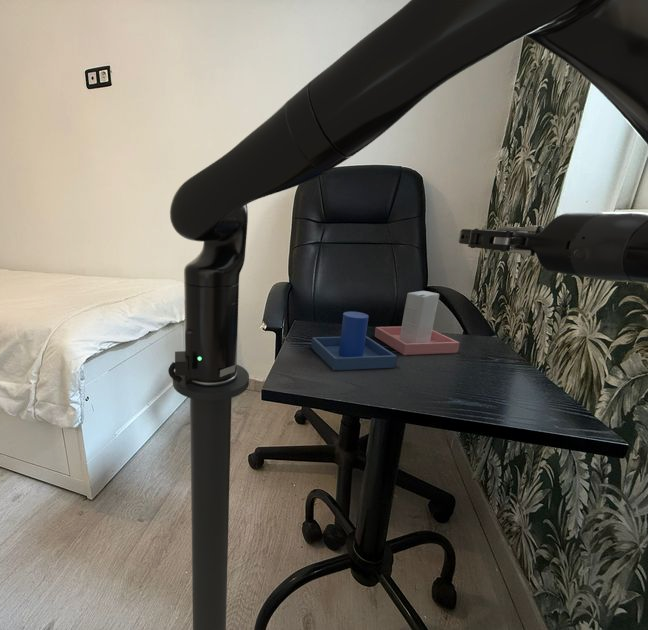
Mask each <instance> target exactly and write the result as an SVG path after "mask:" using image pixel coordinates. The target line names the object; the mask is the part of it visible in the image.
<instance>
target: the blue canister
mask: <svg viewBox="0 0 648 630" xmlns="http://www.w3.org/2000/svg"><path fill="white" fill-rule="evenodd" d="M369 317H370V316H369V315H368V314H367V313H364V312H359V311H344V312H343V313H342V321H341V331H340V337H341V338H340V347H339V355H340V356H342V357H362V356H363V354H364V347H365V340H366V336H367V332H368V331H367V330H368V323H369Z"/></svg>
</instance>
